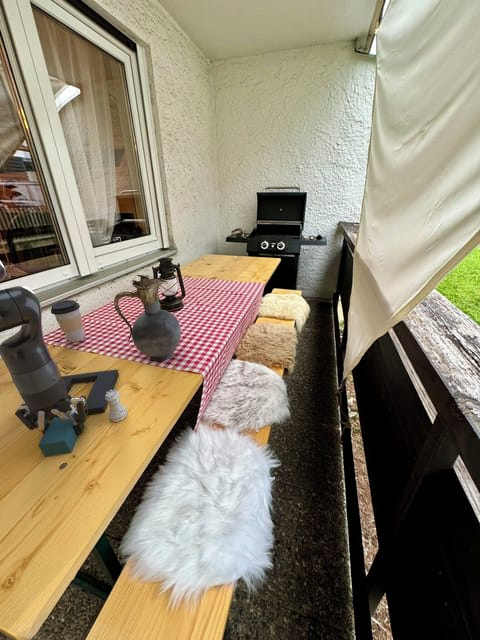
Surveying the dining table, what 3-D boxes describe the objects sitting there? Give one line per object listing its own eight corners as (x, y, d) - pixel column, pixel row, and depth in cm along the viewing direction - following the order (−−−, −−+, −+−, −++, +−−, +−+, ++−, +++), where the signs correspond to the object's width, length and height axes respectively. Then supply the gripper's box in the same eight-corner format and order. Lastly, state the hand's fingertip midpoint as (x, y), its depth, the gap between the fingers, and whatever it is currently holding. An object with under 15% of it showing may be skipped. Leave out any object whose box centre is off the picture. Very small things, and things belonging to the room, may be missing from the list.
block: (44, 457, 58) (37, 445, 56) (63, 421, 66) (58, 410, 64) (71, 452, 58) (65, 440, 57) (86, 418, 67) (81, 406, 65)
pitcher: (183, 362, 87) (169, 277, 73) (124, 367, 85) (99, 281, 72) (185, 344, 97) (173, 266, 83) (132, 349, 95) (112, 270, 81)
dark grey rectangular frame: (30, 423, 66) (27, 417, 65) (57, 381, 80) (55, 376, 79) (104, 412, 69) (102, 407, 68) (118, 374, 83) (117, 369, 82)
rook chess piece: (108, 424, 65) (99, 401, 61) (110, 411, 69) (102, 388, 65) (127, 420, 66) (119, 397, 62) (128, 407, 70) (121, 385, 66)
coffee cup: (87, 330, 109) (75, 297, 102) (92, 338, 102) (80, 304, 95) (61, 337, 104) (47, 303, 97) (65, 347, 97) (50, 311, 90)
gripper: (82, 365, 59) (102, 417, 66) (12, 373, 56) (41, 426, 64) (69, 387, 52) (93, 443, 60) (-11, 398, 50) (24, 454, 58)
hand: (66, 434), depth 62 cm, fingers closed on block, 5 cm apart
